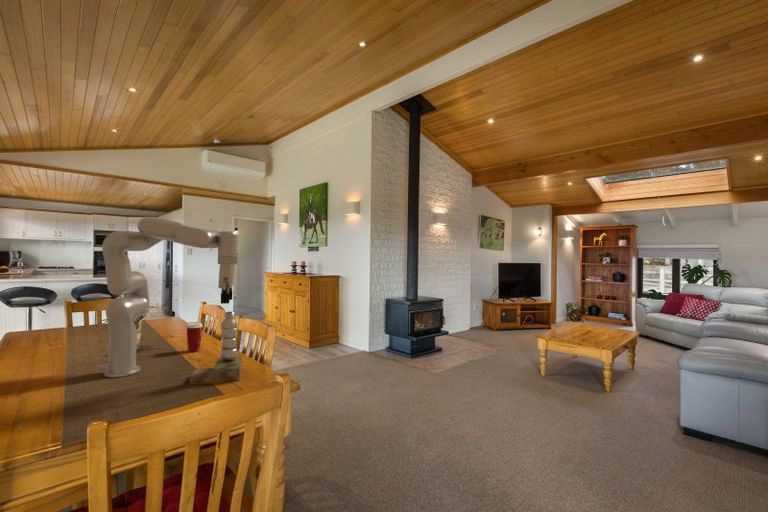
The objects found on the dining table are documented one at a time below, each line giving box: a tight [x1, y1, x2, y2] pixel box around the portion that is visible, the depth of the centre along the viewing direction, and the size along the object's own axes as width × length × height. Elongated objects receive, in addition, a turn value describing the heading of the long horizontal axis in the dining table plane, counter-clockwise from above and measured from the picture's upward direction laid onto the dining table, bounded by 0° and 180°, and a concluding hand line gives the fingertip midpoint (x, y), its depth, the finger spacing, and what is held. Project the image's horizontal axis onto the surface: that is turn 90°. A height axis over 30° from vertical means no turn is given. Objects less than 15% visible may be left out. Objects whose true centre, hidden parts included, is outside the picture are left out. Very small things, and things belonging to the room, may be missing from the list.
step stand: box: [189, 356, 243, 386], centre depth 148 cm, size 18×10×7 cm, turn 107°
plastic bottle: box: [220, 311, 239, 360], centre depth 151 cm, size 6×7×20 cm
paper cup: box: [185, 322, 203, 353], centre depth 186 cm, size 8×8×14 cm
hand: (226, 301), depth 151 cm, fingers open, 9 cm apart
